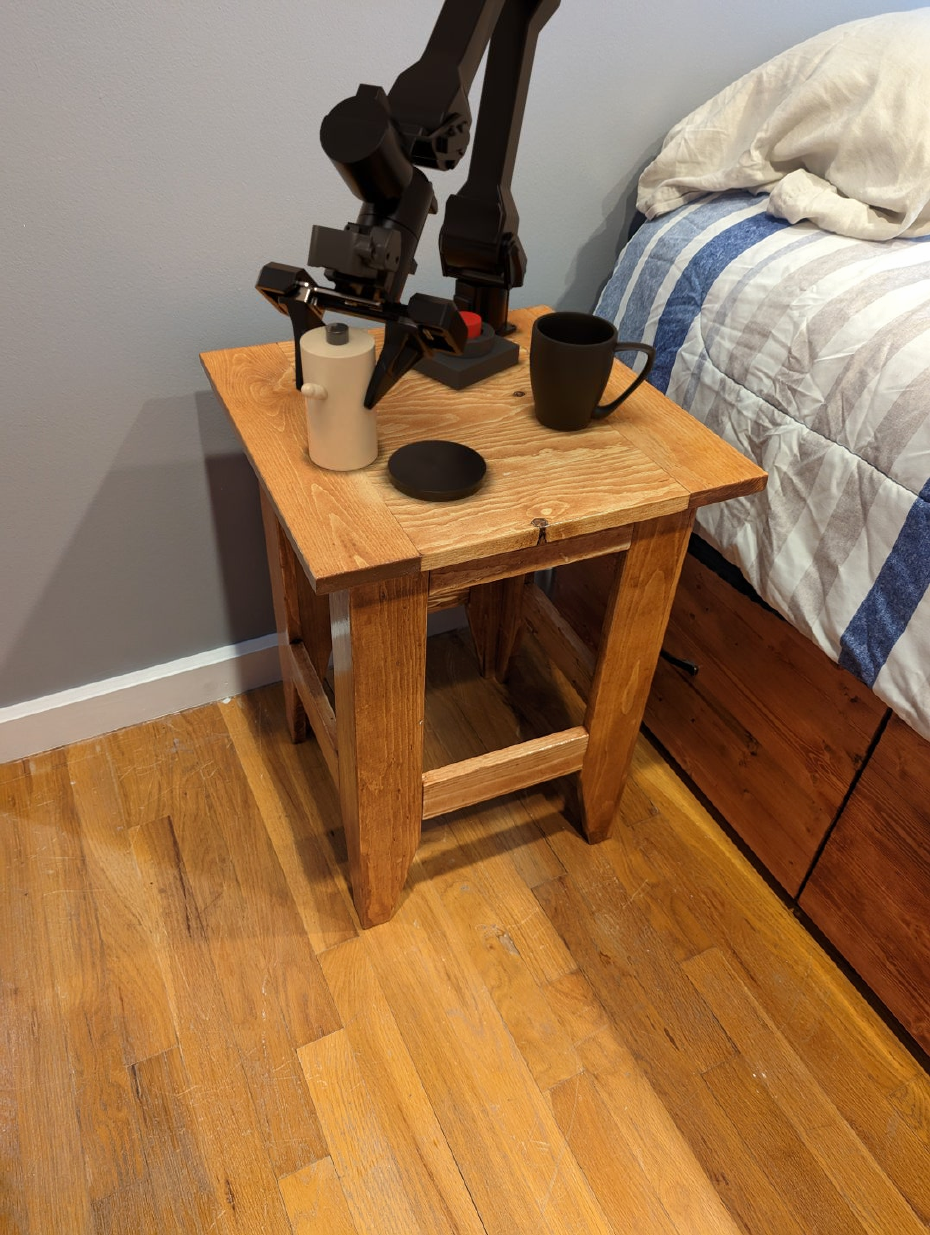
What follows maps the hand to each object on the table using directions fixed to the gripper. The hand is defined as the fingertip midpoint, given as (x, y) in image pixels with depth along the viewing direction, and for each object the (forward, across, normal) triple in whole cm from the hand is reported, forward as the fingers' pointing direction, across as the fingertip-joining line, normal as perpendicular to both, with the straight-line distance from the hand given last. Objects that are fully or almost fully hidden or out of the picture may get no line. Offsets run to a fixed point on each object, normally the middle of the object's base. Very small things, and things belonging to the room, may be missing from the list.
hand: (332, 399), depth 76 cm
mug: (-8, +18, +17) cm, 26 cm away
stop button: (-15, +2, +19) cm, 24 cm away
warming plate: (+3, +9, +6) cm, 11 cm away
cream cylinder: (+4, 0, +4) cm, 6 cm away
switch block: (-13, +2, +22) cm, 25 cm away
